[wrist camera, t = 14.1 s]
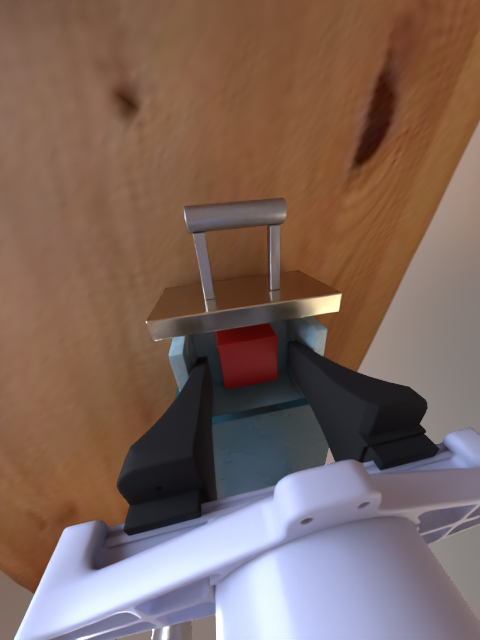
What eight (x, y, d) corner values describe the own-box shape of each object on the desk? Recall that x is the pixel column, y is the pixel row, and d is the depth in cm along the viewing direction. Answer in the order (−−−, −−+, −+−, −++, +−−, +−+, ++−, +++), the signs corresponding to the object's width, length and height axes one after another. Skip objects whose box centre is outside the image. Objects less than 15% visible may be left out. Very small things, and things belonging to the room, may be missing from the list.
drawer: (144, 214, 12) (104, 209, 7) (302, 199, 13) (361, 186, 8) (192, 386, 19) (189, 443, 14) (293, 367, 20) (321, 414, 15)
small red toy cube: (214, 321, 15) (217, 346, 12) (263, 313, 16) (277, 335, 13) (221, 361, 17) (224, 390, 14) (265, 353, 17) (277, 380, 14)
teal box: (181, 361, 19) (169, 433, 12) (296, 341, 20) (340, 397, 13) (202, 431, 24) (201, 508, 17) (292, 412, 25) (322, 477, 19)
